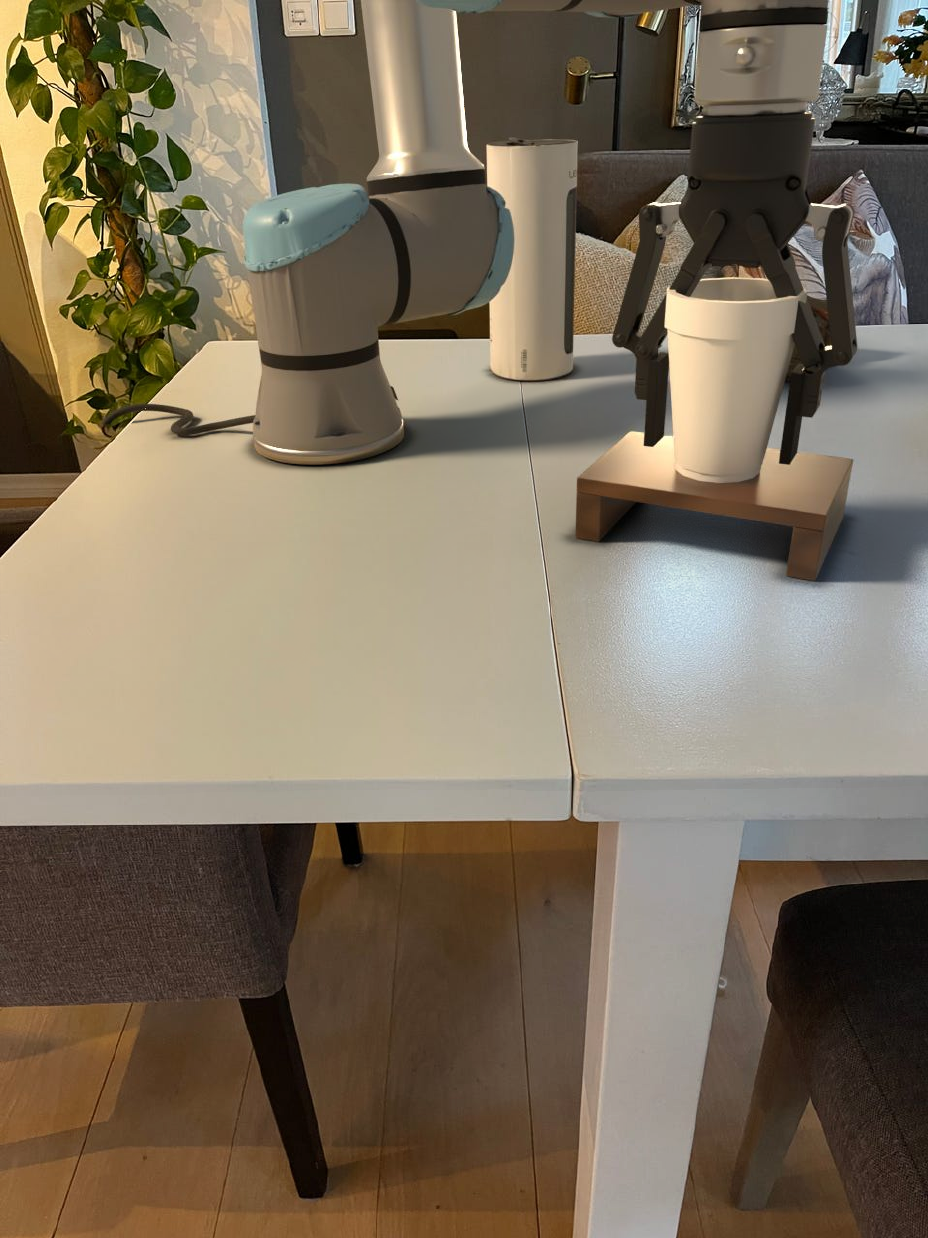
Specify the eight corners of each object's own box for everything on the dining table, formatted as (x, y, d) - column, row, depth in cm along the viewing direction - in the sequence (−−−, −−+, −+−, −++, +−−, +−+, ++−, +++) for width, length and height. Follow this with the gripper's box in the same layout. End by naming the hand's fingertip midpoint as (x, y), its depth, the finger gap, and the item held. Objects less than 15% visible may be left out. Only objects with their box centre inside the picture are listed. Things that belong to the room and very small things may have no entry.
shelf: (575, 538, 72) (576, 477, 69) (627, 485, 81) (630, 430, 78) (815, 581, 64) (826, 515, 62) (842, 518, 73) (853, 458, 71)
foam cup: (786, 493, 65) (814, 303, 59) (653, 488, 67) (666, 303, 61) (774, 448, 73) (798, 276, 67) (656, 445, 75) (667, 277, 69)
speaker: (560, 384, 109) (564, 137, 97) (477, 379, 113) (471, 140, 100) (581, 362, 118) (588, 133, 105) (504, 358, 121) (501, 135, 108)
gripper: (569, 116, 60) (563, 446, 71) (941, 105, 51) (868, 487, 62) (609, 112, 66) (598, 418, 77) (951, 102, 56) (882, 452, 67)
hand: (718, 449), depth 69 cm, fingers closed on foam cup, 9 cm apart
